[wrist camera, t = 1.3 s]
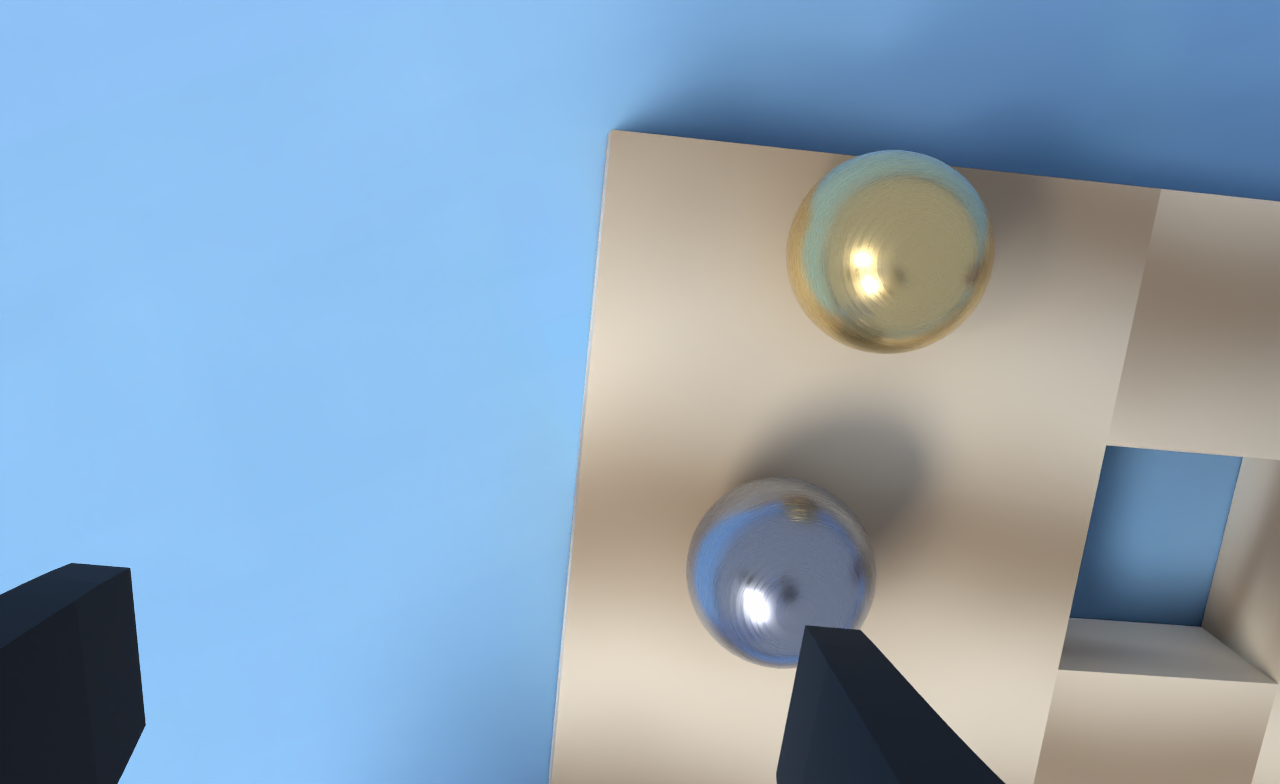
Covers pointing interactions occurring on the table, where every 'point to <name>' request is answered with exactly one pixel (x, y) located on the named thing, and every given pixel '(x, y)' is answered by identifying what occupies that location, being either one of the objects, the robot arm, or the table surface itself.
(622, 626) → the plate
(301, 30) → the table surface
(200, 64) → the table surface
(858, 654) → the robot arm
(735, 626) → the steel ball
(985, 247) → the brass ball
